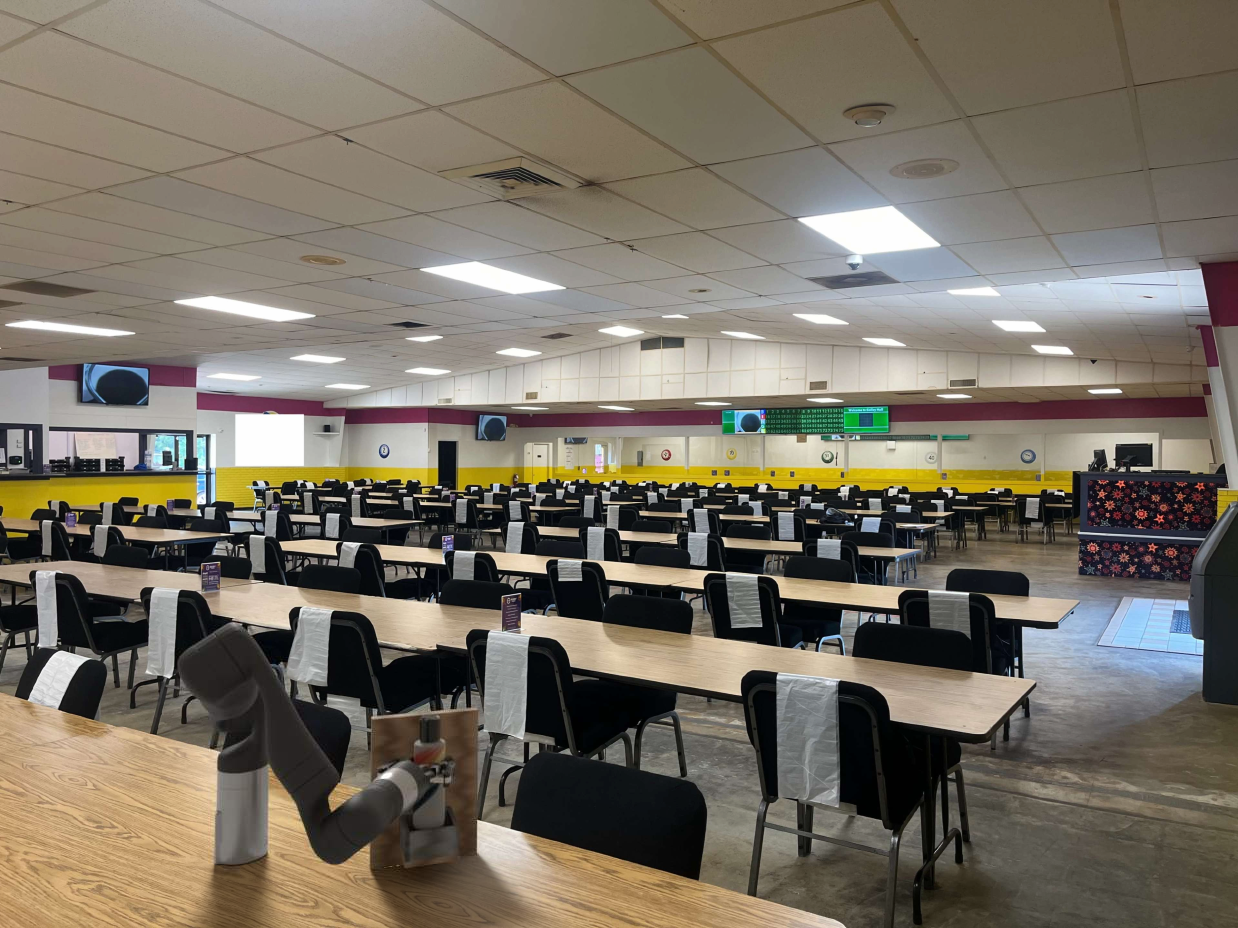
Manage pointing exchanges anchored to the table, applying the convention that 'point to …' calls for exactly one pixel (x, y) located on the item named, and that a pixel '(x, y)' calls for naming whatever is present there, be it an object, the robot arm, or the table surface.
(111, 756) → the table surface
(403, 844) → the bracket
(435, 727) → the lotion bottle
